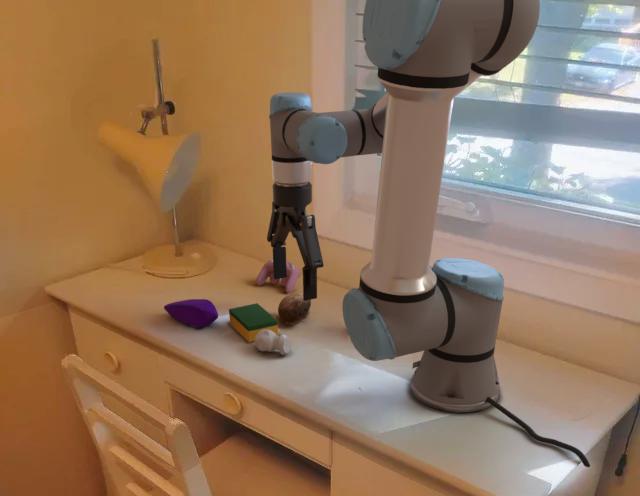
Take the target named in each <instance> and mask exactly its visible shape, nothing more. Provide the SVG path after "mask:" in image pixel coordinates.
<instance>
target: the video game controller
mask: <svg viewBox="0 0 640 496" xmlns="http://www.w3.org/2000/svg"><path fill="white" fill-rule="evenodd" d="M286 269H287V277H286V278H280V279H274V270H273V259H271V260H270V259H269V260H267V262H265V263H264V265H263V266H262V268H261V270H260V271H259V273H258V275H257V277H256V280H255V281H256V285H257V286H261V285H263V284H264V283H265V282H266V281H267V280H268V278H269V282H270V283H271V284H273V285H278V284H279V283H280V284H281V286H282V287H285V293H287V294H289V293H291V292H292V291H293V290H294V289H295V287H296V286H297V284H298V283H297V282H298V280H299V279H300V277H301V270H300V268H299V267H298V266H296V265H294V264H293V263H291V262H289V261H287V260H286Z"/></svg>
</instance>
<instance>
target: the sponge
mask: <svg viewBox="0 0 640 496" xmlns="http://www.w3.org/2000/svg"><path fill="white" fill-rule="evenodd" d="M228 316H229V324H230V326H231V327H232V328H234V330H235V331H237V332H238V334H240V335H241V336H242V337H243V338H244V339H245V340H246V341H247V342H248V343H253V342H255V336H256V335H257V333H258V332H259V331H261V330H264V329H268V330H271V331H273V332H274V333H275V334H276V335H277V336H279V320H278V319H277V318H275V317H274V316H273V315H272V314H271V313H270V312H269V311H267V310H266V309H265V308H264V307H263V306H261V305H260V304H259V303H256V302H255V303H252V304H247V305H241V306H237V307H232V308H228Z"/></svg>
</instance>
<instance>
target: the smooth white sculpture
mask: <svg viewBox="0 0 640 496" xmlns="http://www.w3.org/2000/svg"><path fill="white" fill-rule="evenodd" d="M254 345H255V348H256V349H257V350H258V351H260V352H274V351H278V352H279V353H280V354H281V355H282V356H286V355H288V354H290V353H291V351H292V343H291V341H290V339H289V338H288V336H287V335H286V334H281V335H278V336H277V335H276V334H275V333H274V332H273V331H271V330H268V329H264V330H261V331H259V332H258V333H257V335H256V336H255V341H254Z"/></svg>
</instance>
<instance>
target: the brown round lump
mask: <svg viewBox="0 0 640 496" xmlns="http://www.w3.org/2000/svg"><path fill="white" fill-rule="evenodd" d="M311 306H312V299H311V300H307V301H305V300H303V293H290V294H288V295H286V296H284V297H283V298H282V299H281V300H280V302H279V304H278V308H277V313H278V317H279V319H280V320H281V321H282V323H283V324H286V325H295V324H297V323H300V322H301V321H303V320H304V319H306V318H307V317H308V316H309V315H310V314H311V312H312V311H311V310H310V309H311Z"/></svg>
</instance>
